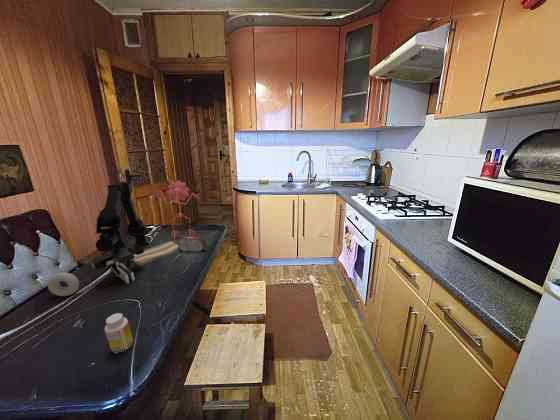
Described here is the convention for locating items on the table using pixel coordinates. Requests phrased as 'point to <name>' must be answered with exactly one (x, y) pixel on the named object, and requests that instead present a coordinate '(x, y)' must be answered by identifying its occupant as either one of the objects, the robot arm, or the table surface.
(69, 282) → the donut
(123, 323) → the supplement bottle
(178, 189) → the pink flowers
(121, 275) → the tongs
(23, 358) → the table surface
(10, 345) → the table surface
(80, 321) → the blueberries
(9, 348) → the table surface
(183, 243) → the tin
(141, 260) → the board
